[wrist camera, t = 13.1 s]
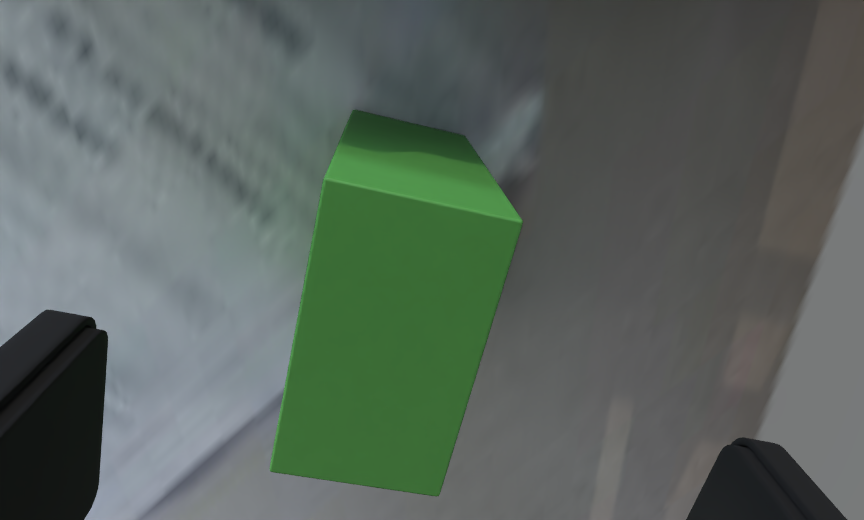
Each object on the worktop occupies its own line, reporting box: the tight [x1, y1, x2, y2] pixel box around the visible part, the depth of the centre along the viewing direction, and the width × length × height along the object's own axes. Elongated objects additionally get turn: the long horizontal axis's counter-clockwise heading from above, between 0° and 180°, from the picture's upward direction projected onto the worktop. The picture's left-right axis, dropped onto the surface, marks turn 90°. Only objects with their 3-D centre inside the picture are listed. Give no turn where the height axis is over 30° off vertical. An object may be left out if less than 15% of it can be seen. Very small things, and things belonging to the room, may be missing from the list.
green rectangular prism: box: [270, 110, 523, 496], centre depth 18 cm, size 4×7×10 cm, turn 166°
